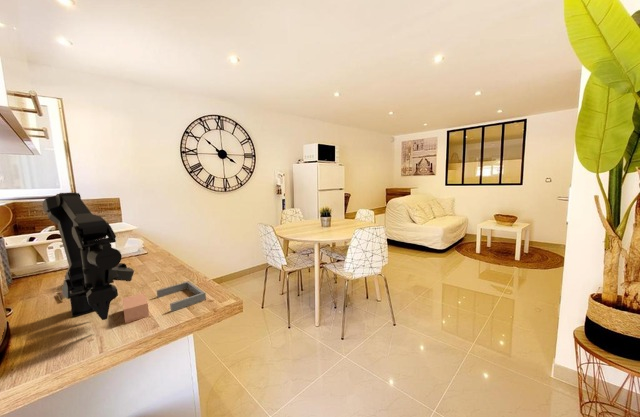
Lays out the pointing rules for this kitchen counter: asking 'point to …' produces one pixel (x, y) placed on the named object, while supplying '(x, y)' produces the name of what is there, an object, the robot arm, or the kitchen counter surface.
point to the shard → (62, 296)
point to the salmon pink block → (135, 307)
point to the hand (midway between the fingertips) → (102, 313)
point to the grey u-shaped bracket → (185, 302)
